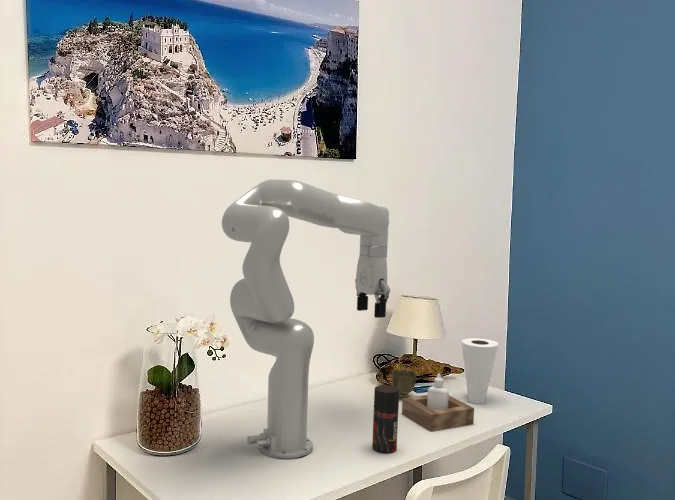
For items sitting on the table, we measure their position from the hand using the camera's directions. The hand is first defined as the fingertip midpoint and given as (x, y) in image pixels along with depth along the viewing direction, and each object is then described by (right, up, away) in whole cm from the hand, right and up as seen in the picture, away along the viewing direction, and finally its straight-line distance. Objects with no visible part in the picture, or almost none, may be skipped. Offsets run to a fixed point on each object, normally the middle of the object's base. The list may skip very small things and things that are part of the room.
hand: (370, 313), depth 184 cm
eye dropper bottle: (+18, -29, 0) cm, 34 cm away
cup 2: (+32, -28, +17) cm, 46 cm away
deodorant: (+2, -31, -21) cm, 37 cm away
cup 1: (+11, -27, +18) cm, 34 cm away
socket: (+18, -29, +1) cm, 34 cm away
